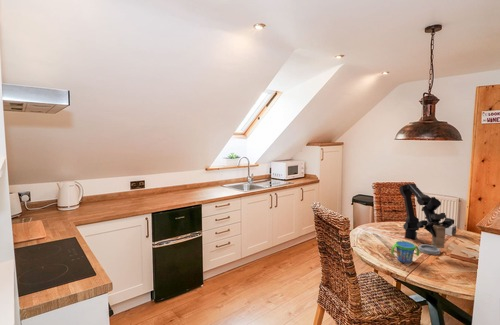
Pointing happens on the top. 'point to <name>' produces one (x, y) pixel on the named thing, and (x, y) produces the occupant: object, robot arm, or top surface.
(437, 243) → the walnut block
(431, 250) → the gray bowl
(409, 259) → the snack cup
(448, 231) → the medicine bottle
